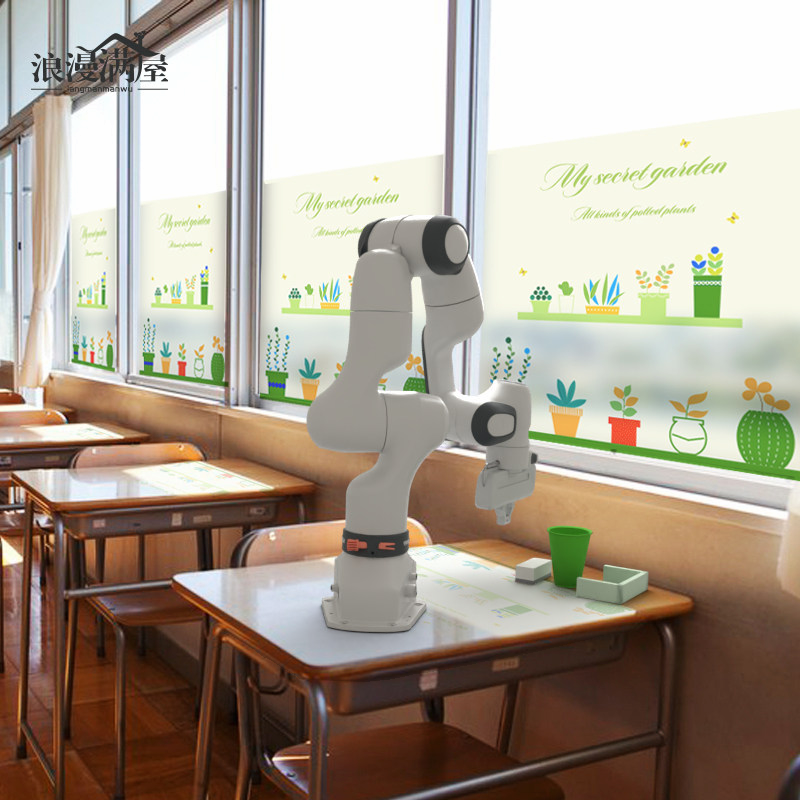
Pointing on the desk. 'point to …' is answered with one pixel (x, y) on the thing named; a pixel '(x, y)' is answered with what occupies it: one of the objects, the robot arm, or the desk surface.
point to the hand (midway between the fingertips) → (503, 523)
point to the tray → (614, 585)
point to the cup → (568, 553)
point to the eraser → (533, 571)
